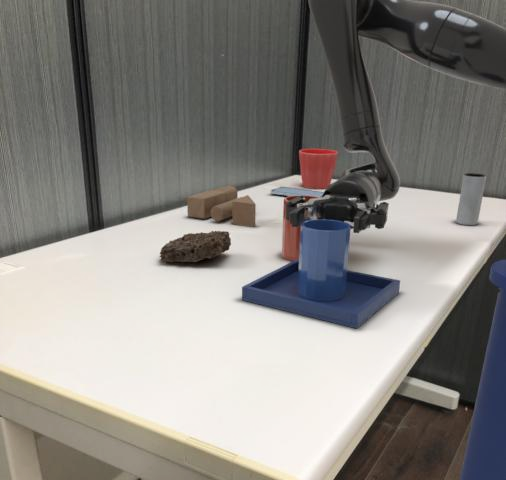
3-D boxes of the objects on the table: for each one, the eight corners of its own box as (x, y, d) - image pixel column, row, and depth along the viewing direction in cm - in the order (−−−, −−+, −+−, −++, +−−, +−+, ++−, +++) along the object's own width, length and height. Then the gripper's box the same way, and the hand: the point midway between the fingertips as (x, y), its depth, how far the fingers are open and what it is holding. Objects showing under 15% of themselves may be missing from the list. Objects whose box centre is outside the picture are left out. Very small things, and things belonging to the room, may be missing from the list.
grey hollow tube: (469, 220, 128) (477, 172, 123) (481, 224, 124) (490, 176, 119) (451, 221, 127) (459, 173, 122) (463, 225, 123) (471, 176, 118)
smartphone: (321, 198, 144) (269, 190, 150) (320, 202, 144) (269, 194, 151) (332, 193, 149) (282, 186, 156) (332, 197, 150) (282, 189, 156)
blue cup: (352, 291, 84) (358, 223, 79) (332, 305, 78) (337, 233, 74) (311, 282, 87) (315, 216, 83) (289, 295, 82) (292, 226, 78)
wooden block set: (183, 192, 123) (225, 180, 138) (184, 218, 126) (226, 204, 140) (253, 200, 116) (289, 187, 131) (252, 228, 118) (288, 211, 133)
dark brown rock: (237, 254, 101) (237, 226, 99) (218, 271, 93) (217, 241, 91) (177, 248, 104) (176, 220, 102) (153, 264, 96) (151, 234, 93)
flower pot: (341, 189, 160) (344, 152, 156) (304, 190, 157) (306, 153, 153) (327, 182, 169) (329, 148, 165) (292, 183, 167) (293, 148, 162)
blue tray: (398, 293, 85) (400, 280, 84) (356, 328, 73) (358, 314, 72) (294, 271, 93) (295, 259, 92) (241, 300, 81) (241, 286, 80)
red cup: (327, 254, 102) (331, 198, 98) (309, 264, 97) (312, 205, 92) (293, 248, 105) (296, 193, 101) (274, 257, 100) (276, 200, 96)
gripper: (308, 173, 91) (275, 190, 77) (398, 178, 86) (381, 198, 72) (306, 220, 94) (274, 244, 80) (393, 227, 89) (375, 255, 76)
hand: (324, 222), depth 76 cm, fingers open, 8 cm apart
